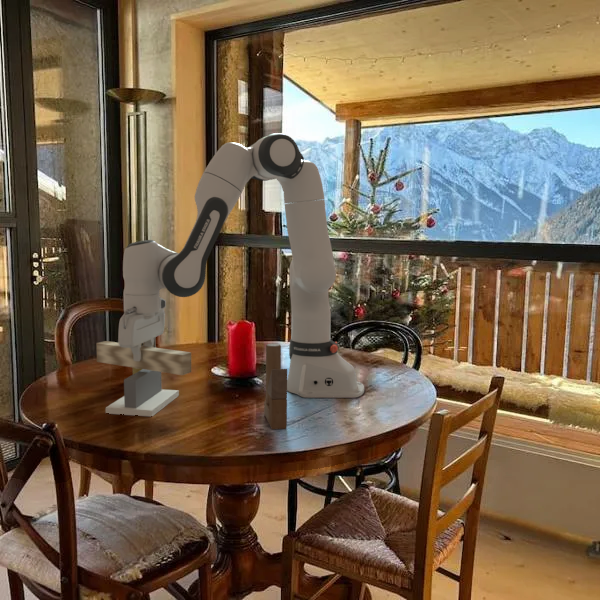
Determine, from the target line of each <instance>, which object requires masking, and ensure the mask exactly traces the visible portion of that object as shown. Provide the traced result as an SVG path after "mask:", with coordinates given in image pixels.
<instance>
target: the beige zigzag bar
mask: <svg viewBox="0 0 600 600" xmlns="http://www.w3.org/2000/svg"><path fill="white" fill-rule="evenodd" d="M140 351H141V353H142V358H143V359H142V360H141V361H134V360H133V353H132V350H131V348H123V347H120V346H119V343H118V341H117V342H115V341H108V340H104V341H100V342H96V362H97V363H103V364H110V365H115V366H121V367H128V368H132V369H133V368H139V369H146V370H152V371H159V372H161V373H166V374H171V375H179V376H185V375H187V374H190V373H192V352H190V351H184V350H183V351H182V350H174V349H169V348H162V347H161V348H160V347H156V348H154V347H147V346H141V348H140Z"/></svg>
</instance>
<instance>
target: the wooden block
mask: <svg viewBox="0 0 600 600" xmlns="http://www.w3.org/2000/svg"><path fill="white" fill-rule="evenodd" d="M287 379H288V368H282V346H281V344H279V343H268V344H266V346H265V401H264V403H263V405H264V411H263V412H264V416H265V419H266V421H267V423H268V425H269V428H271V430H274V431H275V430H286V429H287V428H288V427H287V426H288V399H287V398H288V391H287Z"/></svg>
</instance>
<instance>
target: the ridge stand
mask: <svg viewBox="0 0 600 600" xmlns="http://www.w3.org/2000/svg"><path fill="white" fill-rule="evenodd" d="M179 392H180V390H178V389H177V390H176V389H163V388H162V372H159V371H152V370H146V369H142V370H140V371H138V372H137V373H135V374H133V373H132V375H130V376H128V377H126V378H124V379H123V394H124V395H123V396H122V397H120V398H118V399H117V400H115V401H114V402H112V403H110V404H109V405H108V406H106V407H105V414H106V413H109V414H108V415H110V414H111V415H120V414H122V416H135V415H138V416H140V417H151V416H152V417H154V416H155V415H156V414H157V413H159V412H160V411H161V410H163V409H164V408H165V407H167V406H168V405H169V404H170V403H172V402H173V401H174V400H175V399H176V398H178V397H179V396H180V393H179ZM123 414H124V415H123ZM138 416H137V417H138Z"/></svg>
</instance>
